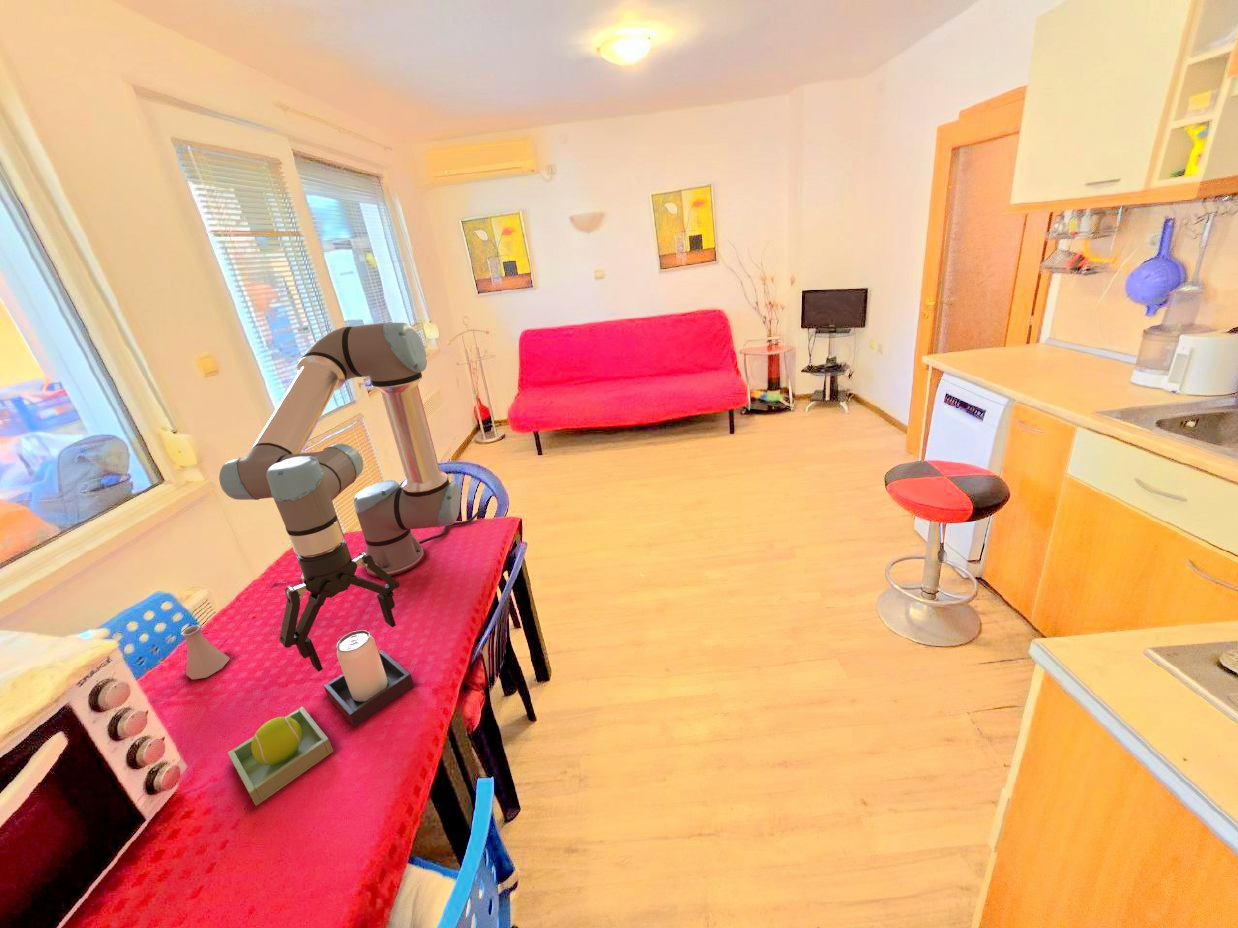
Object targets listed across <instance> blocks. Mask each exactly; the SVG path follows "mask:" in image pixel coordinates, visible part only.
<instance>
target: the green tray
mask: <svg viewBox="0 0 1238 928" xmlns="http://www.w3.org/2000/svg"><path fill="white" fill-rule="evenodd" d="M285 717H290V718H292V719H294V720H296V721H297V722H298V723H299V725H300V727H301V730H302V740H301V743H300V745H299V747H298V749H297V750H296V752H295V753H294V754H293V755H292V756H291V757H290V758H288V759H287V760H285V761H283V762H281V763H278V764H274V765H266V764H262V763H260V762H258V761H257V760H256V759H255V758H254V756H253V754H252V750H251V744H252V739H253V737H254V736H252V737H250V738H249V739H247V740H246V741H244V742H242V743H241V744H238V746H236V747H234V748H232V749H231V750H229V751H227V755H228V757H229V759H230V761H231V763H232V765H233V767H234V768H235V770H236V773H237V774H238V776H239V778H240V780H241V781H242V783H243V784H244V788H245V789H246V791H247V792H248V794H249V796H250V798H251V801H252V802H253V804H254V805H255V807H257V806H259V805H260V804H261V803H263V802H264V801H266V800H267V799H268V798H270V797H271V796H273V795H274V794H276V793H277V792H278V791H280V790H281V789H283V788H284V787H285V786H287V785H288V784H290V783H291V782H293V781H294V780H296V778H298V777H300V776H301V775H303V774H304V773H305V772H307V771H308V770H309V769H311V768H312V767H314V766H315V765H317V764H318V763H320V762H321V761H322V760H324V759H325V758H326V757H328V756H329V755H331V754H333V753H334V749H333V747H332V744H331V741H330V739H329V738H328V736H327V735H326V733H324V731H323V730H322V729H321V727H320V726H319V725H318V723H316V721H315V720H314V719H313V718H312V716H311V715H310V714H309V712H308V711H307V710H306V709H305V707H304V706H301V707H298V708H297V709H295V710H294V711H292V712H291V713H289V714H288V715H286V716H285Z"/></svg>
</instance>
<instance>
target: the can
mask: <svg viewBox="0 0 1238 928" xmlns="http://www.w3.org/2000/svg"><path fill="white" fill-rule="evenodd" d="M336 649H337V650H336V657H337V660H338V663H339V665H340V668H341V672H342V674H344V677H345V680H346V683H347V685H348V688H349V691H350V693H351V696H352V698H353V699H354V700H355V701H359V702H365V701H367V700H368V699H370V698H371V697H373V696H374V695H376V694H377V693H378V692H380V691H381V690H383V689H384V688H386V687H387V684H388V681H387V677H386V674H385V671H384V668H383V664H382V661H381V658H380V655H379V649H378V646H377V643H376V641H375V638H374V637H373V636H372V635H371V634H370V632H369V631H368V630H365V629H360V630H355V631H351V632H349V633H347V634H345V635H343V636H342V637H341V638H340V639H338V641H337V643H336Z"/></svg>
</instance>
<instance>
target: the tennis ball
mask: <svg viewBox="0 0 1238 928" xmlns="http://www.w3.org/2000/svg"><path fill="white" fill-rule="evenodd" d="M252 737H253V739H252V744H251V750H252V754H253V756H254V758H255V759H256V760H257V761H258V762H260V763H262V764H266V765H274V764H278V763H281V762H283V761H285V760H287V759H288V758H290V757H291V756H292V755H293V754H294V753H295V752H296V750H297V749H298V747H299V745H300V743H301V740H302V730H301V727H300V725H299V723H298V722H297V721H296V720H294V719H292V718H290V717H286V716H278V717H274V718H271V719H269V720H268V721H266V722H264V723H263V724H262V725H261V726H260V727H259V728H258V729H257V730H256V732H255V733H254V735H253V736H252Z"/></svg>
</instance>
